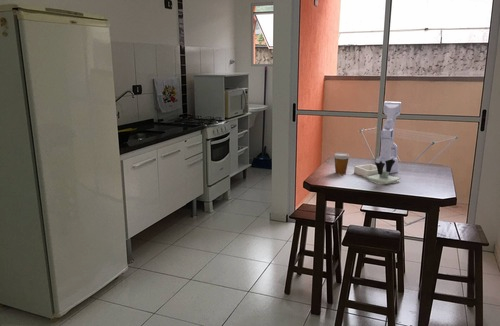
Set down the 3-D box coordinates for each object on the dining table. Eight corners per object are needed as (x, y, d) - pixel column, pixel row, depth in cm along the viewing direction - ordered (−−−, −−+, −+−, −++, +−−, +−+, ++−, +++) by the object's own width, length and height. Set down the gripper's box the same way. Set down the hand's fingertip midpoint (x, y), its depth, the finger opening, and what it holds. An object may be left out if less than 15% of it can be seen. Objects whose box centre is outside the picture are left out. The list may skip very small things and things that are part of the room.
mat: (387, 177, 248) (387, 177, 248) (399, 182, 239) (399, 181, 239) (368, 180, 242) (368, 179, 242) (379, 184, 233) (379, 184, 233)
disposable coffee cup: (348, 175, 253) (349, 156, 250) (332, 174, 255) (333, 155, 252) (348, 171, 262) (349, 153, 259) (332, 170, 264) (333, 152, 261)
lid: (380, 176, 250) (381, 167, 248) (399, 181, 239) (400, 172, 238) (367, 179, 242) (367, 171, 241) (386, 184, 232) (386, 175, 231)
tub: (370, 171, 263) (371, 164, 262) (385, 176, 252) (385, 168, 250) (354, 173, 258) (354, 166, 257) (367, 178, 246) (368, 171, 245)
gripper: (387, 147, 244) (385, 169, 247) (372, 150, 235) (370, 173, 238) (398, 149, 238) (396, 172, 241) (382, 152, 230) (380, 176, 233)
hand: (384, 173), depth 240 cm, fingers open, 7 cm apart
